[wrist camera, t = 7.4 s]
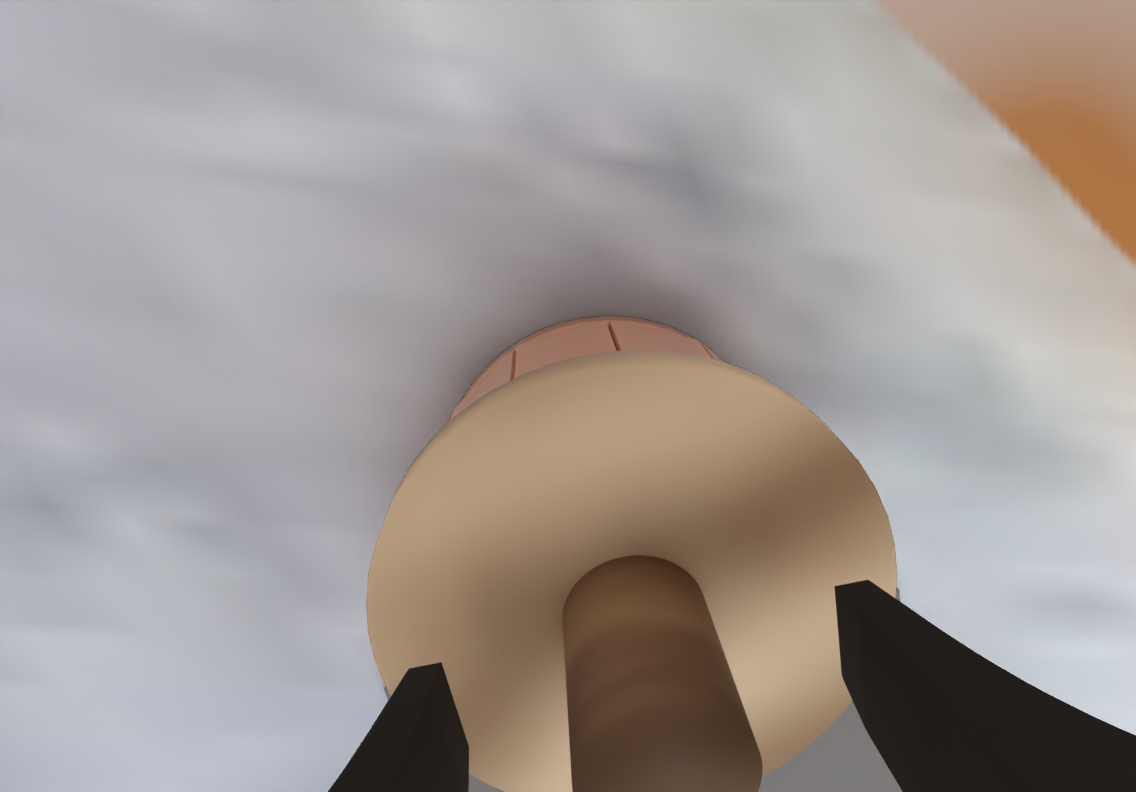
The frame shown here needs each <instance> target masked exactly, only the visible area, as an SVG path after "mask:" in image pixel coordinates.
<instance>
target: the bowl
mask: <svg viewBox="0 0 1136 792" xmlns="http://www.w3.org/2000/svg"><path fill="white" fill-rule="evenodd" d="M622 350H663V351H670V352H677V353H684V354H691V355H698V356H702V357H706V358H709V359H713V360H716V361H720V362H724V361H723V360H722V359H721V358H720V357H718V356H717V355H716V354H715V353H714V352H713V351H711V350H710V349H709V348H708V347H707V346H705V345H704V344H703V343H702V342H701V343H700V342H699V341H698V340H696V339H694V338H692V337H691V336H689V335H687V334H685V333H683V332H681V331H679V330H676V329H674V328H672V327H670V326H667V325H663V324H660V323H657V322H653V321H650V320H646V319H639V318H633V317H627V316H596V317H585V318H579V319H574V320H570V321H566V322H561V323H558V324H555V325H552V326H550V327H547V328H544V329H541V330H539V331H537V332H535V333H533V334H531V335H529V336H527V337H525V338H523V339H521V340H519V341H518V342H516V343H515V344H514V345H512V346H511V347H509V348H508V349H506V350H505V351H504V352H502V353H501V354H500V355H499V356H497V357H496V358H495V359H494V360H493V361H492V362H491V363H490V364H489V365H488V366H487V367H485V368H484V370H483V371H482V372H481V373H480V375H479V376H478V377H477V378H476V379H475V381H474V382H473V383H472V384H471V386H470V387H469V389H468V391H467V392H466V394H465V395H464V397H463V399H462V400H461V402H460V404H459V405H458V406H457V407H456V408H455V410H454V411H453V412H452V415H451V416H450V420H449V422H450V421H451V420H452V419H453V418H454V417H455V416H456V415H457V414H458V413H459V412H461V411H462V410H464V409H465V408H467V407H468V406H469V405H471V404H472V403H474V402H475V401H476V400H478V399H479V398H481V397H482V396H483V395H485V394H486V393H488V392H489V391H491V390H493V389H495V388H497V387H499V386H501V385H503V384H505V383H506V382H508V381H510V380H512V379H514V378H516V377H518V376H520V375H522V374H525V373H528V372H530V371H533V370H536V369H538V368H541V367H544V366H546V365H549V364H552V363H554V362H559V361H563V360H567V359H571V358H575V357H579V356H584V355H588V354H594V353H603V352H613V351H622ZM724 363H725V362H724Z"/></svg>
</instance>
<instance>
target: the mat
mask: <svg viewBox="0 0 1136 792" xmlns="http://www.w3.org/2000/svg"><path fill="white" fill-rule="evenodd" d="M896 599H897V600H898V601H900V595H899V590H898V589H897V587H896ZM385 693H386V695H387V698H388V700H389V699H390V697H391V695H390V693H389V691H388V690H387V688H386V686H385ZM468 792H505V791H502V790H500V789H498V788H495V787H493V786H490V785H488V784H486V783H485V782H483V781H481V780H479V779H477V778H476V777H474V776H472V775H470V774H469V791H468ZM758 792H902V790H901V788H900V787H899V785H898V783H897V782H896V780H895V778H894V777H893V775H892V773H891V772H890V770H889V768H888V767H887V765H886V763H885V761H884V760H883V758H882V756H881V755H880V753H879V751H878V750H877V748H876V746H875V745H874V743H873V741H872V739H871V738H870V736H869V734H868V733H867V731H866V729H865V727H864V725H863V722H862V720H861V718H860V716H859V714H858V712H857V709H856V707H855V705H854V703H853V701H852V702H851V703H850V705H849V706H848V707H847V709H846V710H845V711H844V712H843V713H842V714H841V715H840V716H839V717H838V718H837V719H836V721H835V722H834V723H833V724H832V725H831V726H830V727H829V728H828V729H827V730H826V731H825V732H824V733H823V734H821V735H820V736H819V737H818V738H817V739H816V740H815V741H813V742H812V743H811V744H810V745H809V746H808V747H806V748H805V749H804V750H803V751H801V752H800V753H798V754H797V755H795V756H794V757H792V758H791V759H790V760H788V761H787V762H785V763H784V764H782V765H781V766H779V767H778V768H776V769H774V770H772V771H770V772H768V773H767V774H765V775H763V776H762V780H761V785H760V788H759V791H758Z"/></svg>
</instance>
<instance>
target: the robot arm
mask: <svg viewBox="0 0 1136 792" xmlns="http://www.w3.org/2000/svg"><path fill="white" fill-rule="evenodd" d="M834 587H835V600H836V612H837V624H838V636H839V648H840V660H841V673H842V678H843V680H844V682H845V685H846V687H847V689H848V691H849V694H850V696H851V698H852V701H853V703H854V705H855V707H856V709H857V712H858V714H859V716H860V718H861V720H862V722H863V725H864V727H865V729H866V731H867V733H868V734H869V736H870V738H871V739H872V741H873V743H874V745H875V746H876V748H877V750H878V751H879V753H880V755H881V756H882V758H883V760H884V761H885V763H886V765H887V767H888V768H889V770H890V772H891V773H892V775H893V777H894V778H895V780H896V782H897V783H898V785H899V787H900V788H901V790H902V792H1136V735H1133V734H1131V733H1129V732H1126V731H1124V730H1121V729H1119V728H1117V727H1115V726H1113V725H1110V724H1108V723H1106V722H1104V721H1102V720H1099V719H1097V718H1095V717H1093V716H1091V715H1089V714H1087V713H1085V712H1083V711H1081V710H1079V709H1077V708H1075V707H1073V706H1071V705H1069V704H1067V703H1065V702H1063V701H1061V700H1059V699H1057V698H1055V697H1053V696H1051V695H1049V694H1047V693H1045V692H1043V691H1041V690H1039V689H1038V688H1036V687H1034V686H1032V685H1030V684H1028V683H1026V682H1025V681H1023V680H1021V679H1020V678H1018V677H1016V676H1014V675H1013V674H1011V673H1009V672H1007V671H1006V670H1004V669H1002V668H1001V667H999V666H997V665H995V664H994V663H992V662H990V661H989V660H987V659H985V658H984V657H982V656H980V655H979V654H977V653H976V652H974V651H972V650H971V649H969V648H968V647H966V646H965V645H963V644H962V643H960V642H959V641H957V640H955V639H954V638H952V637H951V636H949V635H948V634H946V633H945V632H943V631H942V630H940V629H939V628H937V627H936V626H934V625H933V624H931V623H930V622H928V621H927V620H926V619H924V618H923V617H921V616H920V615H918V614H917V613H915V612H914V611H913V610H911V609H910V608H908V607H907V606H905V605H904V604H903V603H901V602H900V601H898V600H897V599H896V598H894V597H893V596H891V595H890V594H888V593H887V592H886V591H884V590H883V589H881V588H880V587H878V586H877V585H875V584H874V583H873V582H871V581H870V580H864V581H858V582H853V583H848V584H843V585H838V586H834ZM468 791H469V745H468V742H467V739H466V736H465V733H464V730H463V727H462V724H461V721H460V717H459V714H458V711H457V708H456V705H455V702H454V699H453V696H452V693H451V690H450V687H449V684H448V681H447V678H446V675H445V671H444V668H443V665H442V662H440V663H435V664H430V665H424V666H419V667H414V668H409V669H408V671H407V672H406V673H405V675H404V676H403V678H402V680H401V681H400V683H399V684H398V686H397V687H396V689H395V691H394V692H393V694H392V696H391V697H390V699H389V700H388V702H387V704H386V705H385V707H384V708H383V710H382V712H381V713H380V715H379V716H378V718H377V720H376V721H375V723H374V724H373V726H372V728H371V729H370V731H369V732H368V734H367V735H366V737H365V738H364V740H363V741H362V743H361V744H360V746H359V747H358V749H357V751H356V752H355V754H354V755H353V757H352V758H351V760H350V761H349V763H348V764H347V766H346V767H345V769H344V770H343V771H342V773H341V774H340V776H339V777H338V779H337V780H336V781H335V783H334V784H333V785H332V787H331V788H330V790H329V791H328V792H468Z"/></svg>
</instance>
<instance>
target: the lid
mask: <svg viewBox="0 0 1136 792" xmlns="http://www.w3.org/2000/svg"><path fill="white" fill-rule="evenodd" d="M864 580H870V581H871V582H873V583H874V584H875V585H877V586H878V587H880V588H881V589H883V590H884V591H886V592H887V593H888V594H890V595H891V596H893V597H894V598H896V584H897V565H896V553H895V543H894V539H893V535H892V531H891V527H890V523H889V519H888V515H887V513H886V511H885V509H884V506H883V504H882V502H881V499H880V497H879V495H878V492H877V490H876V488H875V486H874V484H873V483H872V481H871V480H870V478H869V477H868V475H867V473H866V472H865V470H864V469H863V467H862V466H861V464H860V462H859V461H858V460H857V459H856V458H855V456H854V455H853V454H852V453H851V452H850V451H849V450H848V448H847V447H846V446H845V445H844V444H843V443H842V442H841V441H840V439H839V438H838V437H837V436H836V435H835V434H834V433H833V432H832V431H831V430H830V429H829V428H828V427H827V426H826V425H825V424H824V423H823V422H822V421H821V420H820V419H819V418H818V417H817V416H816V415H815V414H814V413H813V412H811V411H810V410H809V409H808V408H807V407H805V406H804V405H803V404H802V403H801V402H799V401H798V400H797V399H796V398H795V397H793V396H792V395H790V394H789V393H787V392H785V391H784V390H782V389H780V388H779V387H777V386H776V385H774V384H772V383H771V382H769V381H767V380H766V379H764V378H762V377H759V376H757V375H755V374H752V373H750V372H748V371H745V370H743V369H741V368H739V367H736V366H734V365H731V364H727V363H724V362H720V361H716V360H713V359H709V358H706V357H702V356H698V355H691V354H684V353H677V352H670V351H663V350H622V351H613V352H603V353H594V354H588V355H584V356H579V357H575V358H571V359H567V360H563V361H559V362H554V363H552V364H549V365H546V366H544V367H541V368H538V369H536V370H533V371H530V372H528V373H525V374H522V375H520V376H518V377H516V378H514V379H512V380H510V381H508V382H506V383H505V384H503V385H501V386H499V387H497V388H495V389H493V390H491V391H489V392H488V393H486V394H485V395H483V396H482V397H481V398H479V399H478V400H476V401H475V402H474V403H472V404H471V405H469V406H468V407H467V408H465V409H464V410H462V411H461V412H459V413H458V414H457V415H456V416H455V417H454V418H453V419H452V420H451V421H450V422H449V423H448V424H447V425H445V426H444V427H443V428H442V429H441V430H440V431H439V432H438V433H437V434H436V435H435V436H434V437H433V438H432V439H431V441H430V442H429V443H428V444H427V445H426V447H425V448H424V449H423V450H422V452H421V453H420V454H419V455H418V457H417V458H416V459H415V460H414V461H413V463H412V465H411V466H410V468H409V470H408V471H407V473H406V475H405V476H404V478H403V480H402V481H401V483H400V485H399V487H398V488H397V490H396V493H395V495H394V498H393V500H392V502H391V505H390V507H389V510H388V512H387V515H386V517H385V520H384V522H383V525H382V528H381V530H380V533H379V535H378V538H377V541H376V544H375V548H374V552H373V556H372V560H371V564H370V568H369V573H368V584H367V596H366V610H367V623H368V634H369V638H370V642H371V646H372V650H373V654H374V658H375V662H376V664H377V667H378V669H379V672H380V674H381V676H382V679H383V681H384V684H385V686H386V688H387V690H388V691H389V693H390V695H391V696H392V694H393V692H394V691H395V689H396V687H397V686H398V684H399V683H400V681H401V680H402V678H403V676H404V675H405V673H406V672H407V671H408V669H409V668H414V667H419V666H424V665H430V664H435V663H440V662H442V665H443V668H444V671H445V675H446V678H447V681H448V684H449V687H450V690H451V693H452V696H453V699H454V702H455V705H456V708H457V711H458V714H459V717H460V721H461V724H462V727H463V730H464V733H465V736H466V739H467V742H468V745H469V774H470V775H472V776H474V777H476V778H477V779H479V780H481V781H483V782H485V783H486V784H488V785H490V786H493V787H495V788H498V789H500V790H502V791H505V792H758V791H759V788H760V785H761V780H762V776H763V775H765V774H767V773H768V772H770V771H772V770H774V769H776V768H778V767H779V766H781V765H782V764H784V763H785V762H787V761H788V760H790V759H791V758H792V757H794V756H795V755H797V754H798V753H800V752H801V751H803V750H804V749H805V748H806V747H808V746H809V745H810V744H811V743H812V742H813V741H815V740H816V739H817V738H818V737H819V736H820V735H821V734H823V733H824V732H825V731H826V730H827V729H828V728H829V727H830V726H831V725H832V724H833V723H834V722H835V721H836V719H837V718H838V717H839V716H840V715H841V714H842V713H843V712H844V711H845V710H846V709H847V707H848V706H849V705H850V703H851V702H852V698H851V696H850V694H849V691H848V689H847V687H846V685H845V682H844V680H843V678H842V673H841V660H840V648H839V636H838V624H837V612H836V600H835V587H834V586H838V585H843V584H848V583H853V582H858V581H864Z"/></svg>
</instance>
